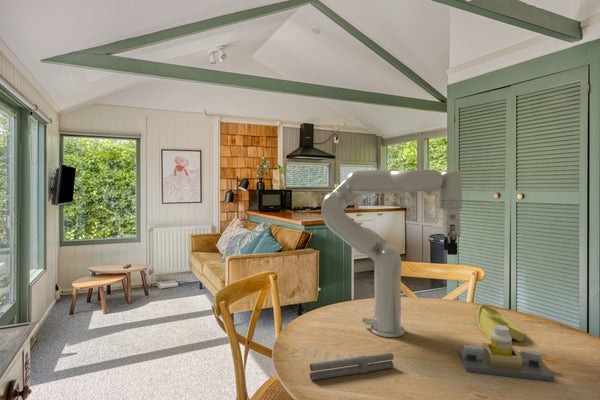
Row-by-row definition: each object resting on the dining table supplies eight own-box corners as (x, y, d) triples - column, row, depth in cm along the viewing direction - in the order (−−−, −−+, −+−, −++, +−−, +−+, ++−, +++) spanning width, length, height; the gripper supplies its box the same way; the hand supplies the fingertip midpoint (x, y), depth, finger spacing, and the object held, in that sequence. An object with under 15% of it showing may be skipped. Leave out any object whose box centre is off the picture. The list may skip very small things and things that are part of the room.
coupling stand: (466, 371, 104) (466, 356, 104) (458, 350, 118) (458, 337, 117) (553, 381, 98) (553, 365, 98) (534, 358, 112) (534, 344, 112)
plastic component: (529, 336, 123) (502, 323, 124) (518, 354, 124) (492, 341, 125) (501, 312, 143) (478, 301, 143) (492, 328, 144) (469, 317, 144)
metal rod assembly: (312, 383, 99) (312, 365, 98) (309, 378, 101) (309, 360, 101) (395, 370, 105) (395, 353, 105) (390, 366, 108) (390, 349, 108)
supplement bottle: (490, 354, 112) (490, 323, 111) (510, 357, 109) (511, 325, 109) (491, 361, 107) (492, 329, 106) (512, 365, 104) (513, 332, 104)
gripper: (466, 206, 120) (465, 257, 120) (457, 204, 136) (457, 248, 137) (442, 206, 122) (442, 256, 122) (437, 204, 138) (436, 248, 139)
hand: (450, 252), depth 130 cm, fingers open, 9 cm apart
